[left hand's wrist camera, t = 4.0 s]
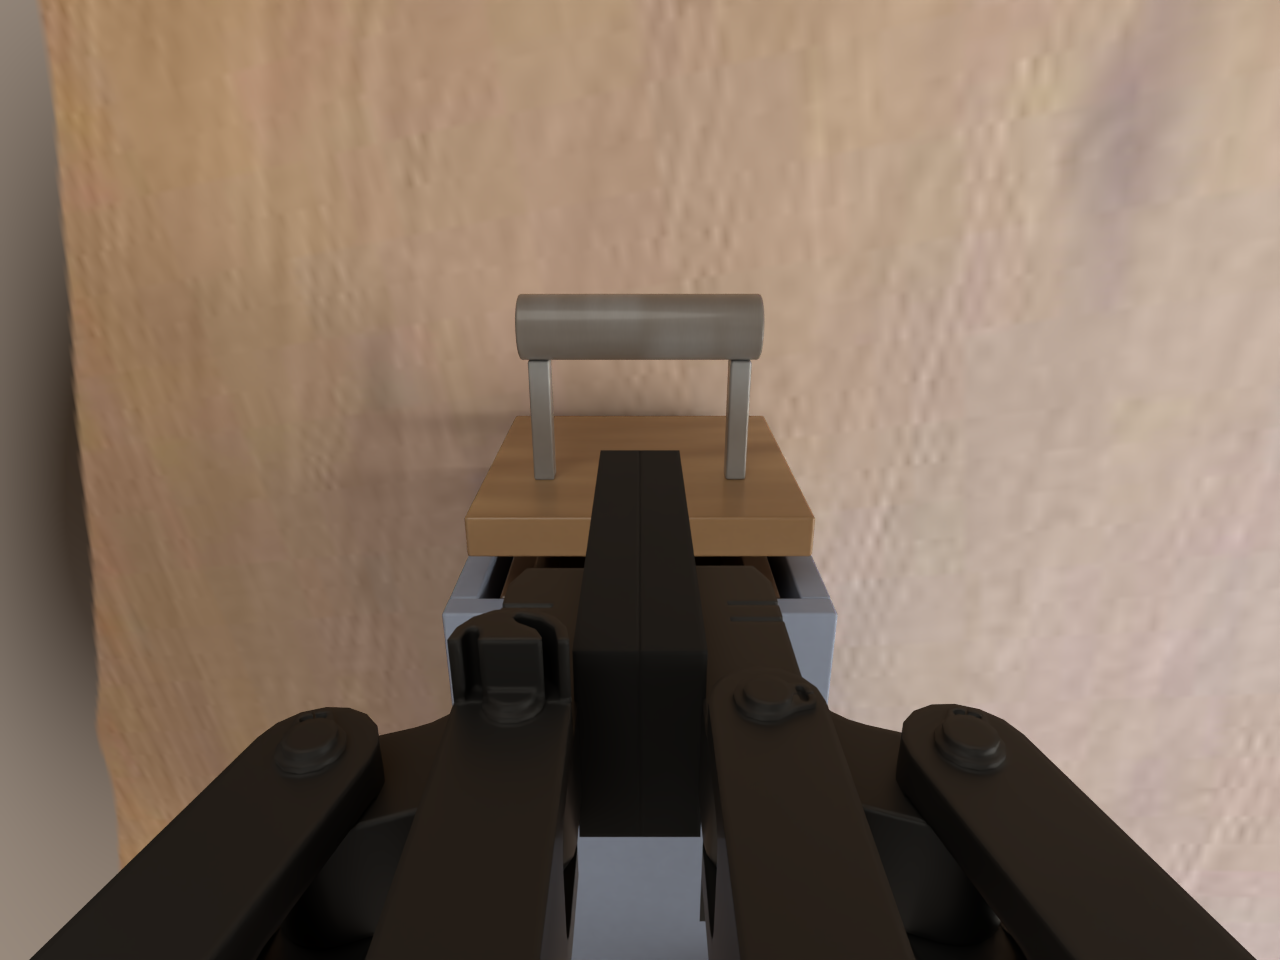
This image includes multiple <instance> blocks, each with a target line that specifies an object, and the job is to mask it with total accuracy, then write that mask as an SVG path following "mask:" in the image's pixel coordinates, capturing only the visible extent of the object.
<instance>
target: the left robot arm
mask: <svg viewBox="0 0 1280 960" xmlns="http://www.w3.org/2000/svg"><path fill="white" fill-rule="evenodd" d="M447 644H448V653H449V662H450V671H451V680H452V689H453V699H454V704H453V707H452V709H451V712H450V714H449V715H447V716H445V717H443V718H441V719H438V720H436V721H434V722H432V723H429V724H425V725H422V726H419V727H415V728H411V729H407V730H402V731H398V732H394V733H389V734H385V735H380V736H379V734H378V728H377V725H376V724H375V723H374V722H373V721H372V719H371V718H370V717H369V716H368V715H367V714H365V713H362V712H359V711H356V710H354V709H351V708H337V707H325V708H320V709H315V710H311V711H306V712H301V713H299V714H297V715H294V716H292V717H290V718H287V719H285V720H283V721H281V722H278V723H277V724H275V725H274V726H273V727H271V728H270V729H268V730H267V731H266V732H264V733H263V734H262V735H260V736H259V737H258V738H257V739H256V740H254V741H253V742H252V743H251V744H250V745H249V746H248V747H247V748H246V749H245V750H244V751H243V752H242V753H241V754H240V755H239V756H238V757H237V758H236V759H235V760H234V761H233V762H232V763H231V764H230V765H229V766H228V767H227V768H226V769H225V770H224V771H223V772H222V773H221V774H220V775H219V776H218V777H216V778H215V779H214V780H213V781H212V782H211V783H210V784H209V785H208V786H207V787H206V788H205V789H204V790H203V791H202V792H201V793H200V794H199V795H198V796H197V797H196V798H195V799H194V800H193V801H192V802H191V803H190V804H189V805H188V806H187V807H186V808H185V809H184V810H183V811H182V812H181V813H180V814H178V815H177V816H176V817H175V818H174V819H173V820H172V821H171V822H170V823H169V824H168V825H167V826H166V827H165V828H164V829H163V830H162V831H161V832H160V833H159V834H158V835H157V836H156V837H155V838H154V839H153V840H152V841H151V842H150V843H149V844H148V845H147V846H146V847H145V848H144V849H143V850H142V851H140V852H139V853H138V854H137V855H136V856H135V857H134V858H133V859H132V860H131V861H130V862H129V863H128V864H127V865H126V866H125V867H124V868H123V869H122V870H121V871H120V872H119V873H118V874H117V875H116V876H115V877H114V878H113V879H112V880H111V881H110V882H109V883H108V884H107V885H106V886H105V887H104V888H102V889H101V890H100V891H99V892H98V893H97V894H96V895H95V896H94V897H93V898H92V899H91V900H90V901H89V902H88V903H87V904H86V905H85V906H84V907H83V908H82V909H81V910H80V911H79V912H78V913H77V914H76V915H75V916H74V917H73V918H72V919H71V920H70V921H69V922H68V923H67V924H66V925H64V926H63V928H61V929H60V930H59V931H58V932H57V933H56V934H55V935H54V936H53V937H52V938H51V939H50V940H49V941H48V942H47V943H46V944H45V945H44V946H43V947H42V948H41V949H40V950H39V951H38V952H37V953H36V954H35V955H34V956H33V957H32V958H31V959H30V960H572V948H573V936H574V924H575V912H576V900H577V888H578V876H579V872H578V848H577V841H578V830H579V837H701V827H702V837H703V848H702V872H701V897H700V921H705V923H706V935H707V947H708V959H709V960H1256V959H1255V958H1254V957H1253V956H1252V955H1251V954H1250V953H1249V952H1248V951H1247V950H1246V949H1245V948H1244V947H1243V946H1242V945H1241V944H1240V943H1239V942H1238V941H1237V940H1236V939H1235V938H1234V937H1233V936H1232V935H1230V934H1229V933H1228V932H1227V931H1226V930H1225V929H1224V928H1223V927H1222V926H1221V925H1220V924H1219V923H1218V922H1217V921H1216V920H1215V919H1214V918H1213V917H1212V916H1211V915H1210V914H1209V913H1208V912H1207V911H1206V910H1205V909H1204V908H1203V907H1202V906H1200V905H1199V904H1198V903H1197V902H1196V901H1195V900H1194V899H1193V898H1192V897H1191V896H1190V895H1189V894H1188V893H1187V892H1186V891H1185V890H1184V889H1183V888H1182V887H1181V886H1180V885H1179V884H1178V883H1177V882H1176V881H1175V880H1174V879H1173V878H1171V877H1170V876H1169V875H1168V874H1167V873H1166V872H1165V871H1164V870H1163V869H1162V868H1161V867H1160V866H1159V865H1158V864H1157V863H1156V862H1155V861H1154V860H1153V859H1152V858H1151V857H1150V856H1149V855H1148V854H1147V853H1146V852H1145V851H1144V850H1143V849H1141V848H1140V847H1139V846H1138V845H1137V844H1136V843H1135V842H1134V841H1133V840H1132V839H1131V838H1130V837H1129V836H1128V835H1127V834H1126V833H1125V832H1124V831H1123V830H1122V829H1121V828H1120V827H1119V826H1118V825H1117V824H1116V823H1115V822H1114V821H1113V820H1111V819H1110V818H1109V817H1108V816H1107V815H1106V814H1105V813H1104V812H1103V811H1102V810H1101V809H1100V808H1099V807H1098V806H1097V805H1096V804H1095V803H1094V802H1093V801H1092V800H1091V799H1090V798H1089V797H1088V796H1087V795H1086V794H1085V793H1084V792H1083V791H1081V790H1080V789H1079V788H1078V787H1077V786H1076V785H1075V784H1074V783H1073V782H1072V781H1071V780H1070V779H1069V778H1068V777H1067V776H1066V775H1065V774H1064V773H1063V772H1062V771H1061V770H1060V769H1059V768H1058V767H1057V766H1056V765H1055V764H1054V763H1053V762H1051V761H1050V760H1049V759H1048V758H1047V757H1046V756H1045V755H1044V754H1043V753H1042V752H1041V751H1040V750H1039V749H1038V748H1037V747H1036V746H1035V745H1034V744H1033V743H1032V742H1031V741H1030V740H1029V739H1028V738H1027V737H1026V736H1025V735H1024V734H1022V733H1021V732H1020V731H1018V730H1017V729H1015V728H1014V727H1013V726H1011V725H1010V724H1009V723H1007V722H1006V721H1005V720H1003V719H1001V718H998V717H996V716H994V715H992V714H989V713H987V712H985V711H982V710H980V709H976V708H971V707H966V706H962V705H957V704H935V705H929V706H926V707H923V708H921V709H918V710H915V711H913V712H912V713H911V715H910V716H909V717H908V718H907V719H906V720H905V721H904V722H903V728H902V733H901V732H896V731H892V730H887V729H883V728H878V727H874V726H869V725H865V724H862V723H858V722H855V721H852V720H848V719H846V718H844V717H842V716H840V715H838V714H836V713H833V712H831V711H830V710H829V708H828V705H827V703H826V701H825V699H824V698H823V696H822V694H821V693H820V691H819V690H818V688H817V687H816V686H814V685H813V684H811V683H810V682H808V681H807V680H806V679H804V678H803V677H802V676H801V673H800V669H799V666H798V663H797V660H796V657H795V654H794V651H793V648H792V644H791V641H790V638H789V635H788V632H787V629H786V626H785V622H783V616H782V613H781V610H780V607H779V605H778V601H777V597H776V594H775V591H774V588H773V585H772V582H771V581H770V580H769V579H767V578H766V577H765V576H764V575H763V574H762V573H761V572H760V571H758V570H757V569H756V568H755V567H754V566H696V564H695V557H694V550H693V543H692V536H691V529H690V522H689V515H688V507H687V500H686V493H685V486H684V479H683V472H682V465H681V458H680V451H679V450H601V451H600V458H599V465H598V472H597V479H596V486H595V493H594V500H593V507H592V515H591V522H590V529H589V536H588V543H587V550H586V557H585V564H584V568H527V569H525V570H524V571H523V572H522V573H521V574H520V575H519V576H518V577H517V578H515V579H514V580H513V581H512V582H511V583H510V584H509V585H508V588H507V591H506V594H505V597H504V601H503V604H502V608H501V609H499V610H493V611H490V612H486V613H483V614H480V615H477V616H474V617H472V618H470V619H469V620H467V621H466V622H464V623H462V624H461V625H459V626H458V627H456V629H455V630H454V631H453V633H452V634H451V635H450V637H449V638H448V639H447Z"/></svg>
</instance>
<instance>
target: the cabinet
mask: <svg viewBox="0 0 1280 960" xmlns="http://www.w3.org/2000/svg"><path fill="white" fill-rule="evenodd" d="M513 557H514V556H468V559H467V561H466V563H465V565H464V568H463V570H462V572H461V574H460V577H459V579H458V581H457V583H456V586H455V588H454V590H453V592H452V595H451V597H450V599H449V601H448V603H447V605H446V607H445V610H444V612H443V614H442V617H443V626H444V635H445V644H446V652H447V661H448V670H449V679H450V688H451V697H452V706H453V704H454V699H453V689H452V680H451V671H450V662H449V653H448V644H447V639H448V638H449V637H450V635H451V634H452V633H453V631H454V630H455V629H456V627H458V626H459V625H461V624H462V623H464V622H466V621H467V620H469V619H470V618H472V617H474V616H477V615H480V614H483V613H486V612H490V611H493V610H499V609H501V608H502V604H503V601H504V599H500V596H501V593H502V590H503V587H504V584H505V581H506V578H507V575H508V572H509V569H510V566H511V563H512V560H513ZM767 559H768V562H769V565H770V568H771V571H772V574H773V577H774V580H775V583H776V586H777V589H778V593H779V596H780V599H777V601H778V605H779V607H780V610H781V613H782V616H783V622H785V626H786V629H787V632H788V635H789V638H790V641H791V644H792V648H793V651H794V654H795V657H796V660H797V663H798V666H799V669H800V673H801V676H802V677H803V678H804V679H806V680H807V681H808V682H810V683H811V684H813V685H814V686H816V687H817V688H818V690H819V691H820V693H821V694H822V696H823V698H824V699H825V701H826V703H827V704H828V695H829V686H830V677H831V668H832V659H833V650H834V641H835V632H836V623H837V612H836V610H835V608H834V606H833V603H832V601H831V599H830V596H829V594H828V591H827V589H826V587H825V585H824V583H823V580H822V578H821V576H820V574H819V571H818V569H817V567H816V565H815V562H814V560H813V558H812V556H767ZM577 848H578V872H579V876H578V888H577V900H576V912H575V924H574V936H573V948H572V960H709V959H708V947H707V935H706V923H705V921H700V897H701V872H702V848H703V837H702V827H701V837H579V830H578V841H577Z"/></svg>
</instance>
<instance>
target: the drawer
mask: <svg viewBox="0 0 1280 960" xmlns="http://www.w3.org/2000/svg"><path fill="white" fill-rule="evenodd" d="M515 332H516V343H517V350H518V354H519V356H520V358H521V359H522V360H529V361H528V373H529V391H530V409H531V416H517V417H516V418H515V420H514V422H513V424H512V426H511V428H510V430H509V432H508V434H507V436H506V438H505V440H504V442H503V444H502V446H501V448H500V450H499V452H498V454H497V456H496V458H495V460H494V462H493V464H492V466H491V467H490V469H489V471H488V473H487V475H486V477H485V479H484V481H483V483H482V485H481V487H480V489H479V491H478V493H477V495H476V497H475V499H474V501H473V503H472V505H471V507H470V509H469V511H468V513H467V515H466V517H465V530H466V540H467V551H468V555H469V556H514V557H513V560H512V563H511V566H510V569H509V572H508V575H507V578H506V581H505V584H504V587H503V590H502V593H501V596H500V599H504V597H505V594H506V591H507V588H508V585H509V584H510V583H511V582H512V581H513V580H514V579H515V578H517V577H518V576H519V575H520V574H521V573H522V572H523V571H524V570H525V569H527V568H584V564H585V557H586V550H587V543H588V536H589V529H590V522H591V515H592V507H593V500H594V493H595V486H596V479H597V472H598V465H599V458H600V451H601V450H679V451H680V458H681V465H682V472H683V479H684V486H685V493H686V500H687V507H688V515H689V522H690V529H691V536H692V543H693V550H694V557H695V564H696V566H754V567H755V568H756V569H757V570H758V571H760V572H761V573H762V574H763V575H764V576H765V577H766V578H767V579H769V580H770V581H771V582H772V585H773V588H774V591H775V594H776V597H777V599H780V596H779V593H778V589H777V586H776V583H775V580H774V577H773V574H772V571H771V568H770V565H769V562H768V559H767V556H811V554H812V547H813V536H814V526H815V518H814V516H813V514H812V512H811V510H810V508H809V506H808V504H807V502H806V500H805V498H804V496H803V494H802V492H801V490H800V488H799V486H798V484H797V482H796V480H795V478H794V476H793V474H792V472H791V470H790V468H789V466H788V464H787V462H786V460H785V458H784V456H783V454H782V452H781V450H780V448H779V446H778V444H777V442H776V440H775V438H774V436H773V434H772V432H771V430H770V428H769V426H768V424H767V422H766V420H765V418H764V417H763V416H749V401H750V382H751V364H752V363H751V361H750V360H757V359H759V358H760V355H761V352H762V347H763V339H764V305H763V300H762V297H761V295H760V294H520V295H519V296H518V298H517V302H516V311H515ZM551 360H729V361H728V384H727V407H726V416H554V414H553V391H552V368H551Z"/></svg>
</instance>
